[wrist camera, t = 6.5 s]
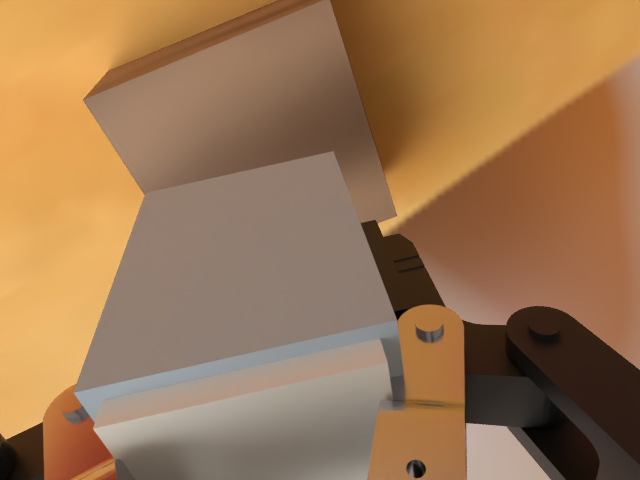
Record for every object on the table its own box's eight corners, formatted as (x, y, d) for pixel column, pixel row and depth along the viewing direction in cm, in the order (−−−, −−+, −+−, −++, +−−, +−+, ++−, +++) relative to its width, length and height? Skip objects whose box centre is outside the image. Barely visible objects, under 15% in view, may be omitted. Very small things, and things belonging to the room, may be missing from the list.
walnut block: (109, 69, 20) (83, 99, 17) (314, -16, 19) (329, -3, 16) (209, 238, 25) (204, 287, 22) (376, 175, 24) (397, 215, 21)
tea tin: (145, 192, 13) (63, 420, 7) (333, 151, 13) (405, 343, 7) (204, 329, 16) (180, 574, 10) (359, 295, 16) (426, 518, 10)
